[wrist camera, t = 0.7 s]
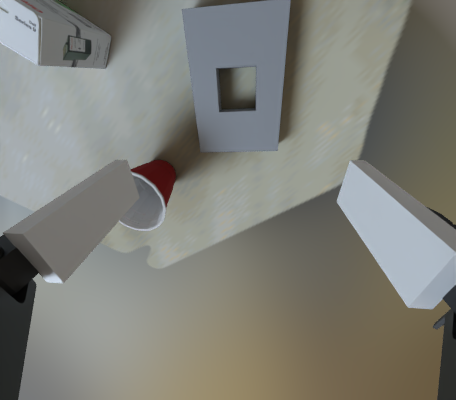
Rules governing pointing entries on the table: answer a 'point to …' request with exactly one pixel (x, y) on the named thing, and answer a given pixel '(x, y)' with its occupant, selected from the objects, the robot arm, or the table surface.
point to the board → (236, 58)
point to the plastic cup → (150, 195)
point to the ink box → (52, 34)
